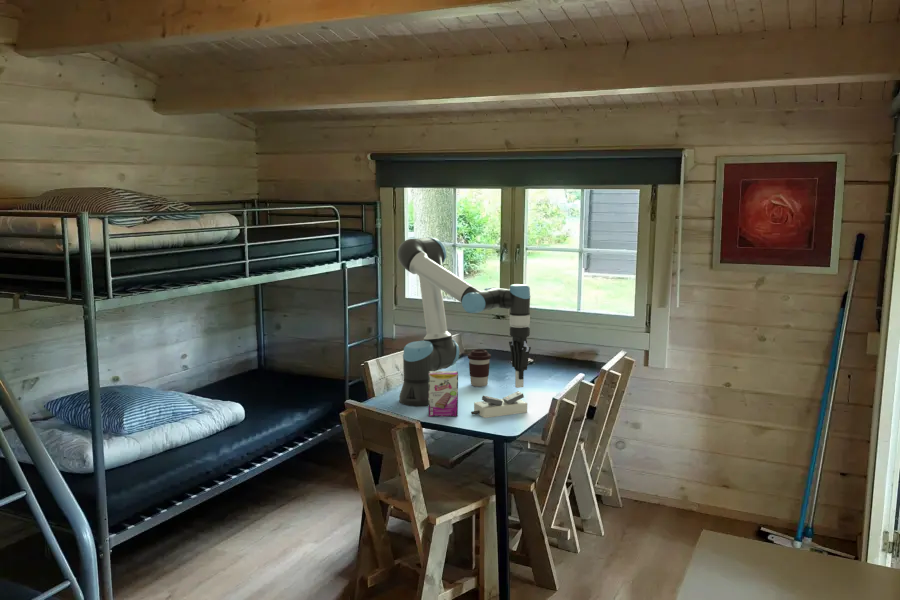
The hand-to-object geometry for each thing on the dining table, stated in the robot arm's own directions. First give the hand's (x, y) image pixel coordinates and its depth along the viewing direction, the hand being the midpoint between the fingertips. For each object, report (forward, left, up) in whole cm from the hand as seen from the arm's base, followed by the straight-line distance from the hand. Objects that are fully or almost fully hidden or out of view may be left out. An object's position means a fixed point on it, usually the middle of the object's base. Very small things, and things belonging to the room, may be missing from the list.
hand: (519, 386), depth 277 cm
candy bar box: (-28, +7, -10) cm, 31 cm away
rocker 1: (-11, 0, -4) cm, 12 cm away
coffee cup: (+3, +41, -10) cm, 42 cm away
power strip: (-8, +2, -9) cm, 13 cm away
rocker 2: (-2, 0, -4) cm, 5 cm away
